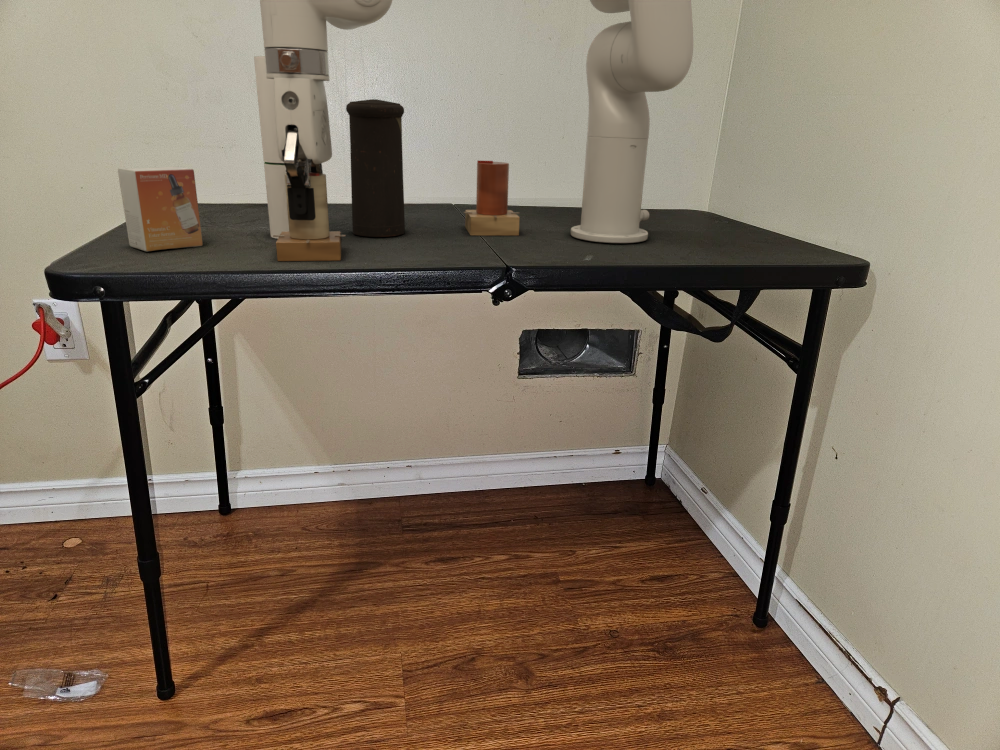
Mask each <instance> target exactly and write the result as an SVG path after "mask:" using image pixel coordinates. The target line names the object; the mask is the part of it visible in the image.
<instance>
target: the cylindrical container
mask: <svg viewBox="0 0 1000 750" xmlns="http://www.w3.org/2000/svg"><path fill="white" fill-rule="evenodd" d="M253 61H254V72H255V82H256V83H255V84H256V92H257V93H256V94H257V102H258V103H257V105H258V115H259V125H260V138H261V148H262V158H263V162H264V163H263V168H264V169H263V170H264V180H265V190H266V201H267V213H268V223H269V233H270V234H269V235H270V238H273V239H277V240H278V238H279V237H273V235H280V234H281V232H289V223H288V211H287V199H286V187H285V174H286V173H287V172H286V167H285V164H284V162H283V161H282V160H280V158H279V154H278V148H277V138H276V125H275V105H274V79H269V78H267V75H266V74H267V73H266V63H265V55H258V56H257V55H256V56H253ZM298 162H299V161H298Z"/></svg>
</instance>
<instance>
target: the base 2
mask: <svg viewBox="0 0 1000 750" xmlns="http://www.w3.org/2000/svg"><path fill="white" fill-rule="evenodd" d="M463 214H465V215H464V216H465V217H464V220H465V221H464V223H465V224H464V228H465V229H466V231H467V232H468V234H469V235H470V237H471V236H472V237H473V236H477V237H478V236H482V237H483V236H487V237H488V236H492V237H494V236H495V237H496V236H499V237H501V236H503V237H505V236H509V237H510V236H511V237H515V236H518V237H519V236H520V219H521V218H520V216H519V214H520V211H519V212H517V211H516V212H515V211H513V210H512V209H508V211H507V214H505V215H483V214H478V213H476V209H465V211H463Z"/></svg>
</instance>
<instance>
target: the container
mask: <svg viewBox="0 0 1000 750" xmlns="http://www.w3.org/2000/svg"><path fill="white" fill-rule="evenodd" d="M345 110H346V113H347V114H348V119H349V122H348V123H349V140H350V141H349V143H350V144H349V146H350V149H349V151H350V183H351V184H350V187H351V224H352V234H353V235H356V236H360V237H367V238H368V237H369V238H388V237H389V238H390V237H398V236H401V235H403V234H405V232H406V218H405V193H404V191H405V190H404V189H405V188H404V163H403V161H404V159H403V124H402V123H403V122H402V121H403V120H402V119H403V115H404V113H405V108H404V106H403V105H401V104H400V103H399V102H392V101H388V100H382V99H378V98H377V99H375V98H373V99H372V98H371V99H363V100H355V101H349V102H348V103H347V104H346V106H345Z"/></svg>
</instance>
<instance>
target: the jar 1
mask: <svg viewBox="0 0 1000 750" xmlns="http://www.w3.org/2000/svg"><path fill="white" fill-rule="evenodd" d="M285 187H286V199H287V211H288V223H289V235H290V237H291V238H295V239H322V238H327V237H329V236H330V234H329V231H330V219H329V206H328V205H329V203H328V188H327V187H328V186H327V175H326V174H325V173H323V174H322V173H312V172H311V188H314V201H315V216H316V217H315V219H314V220H292V219H290V216H289V204H288V192H287V188H288V187H287V174H285Z"/></svg>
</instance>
